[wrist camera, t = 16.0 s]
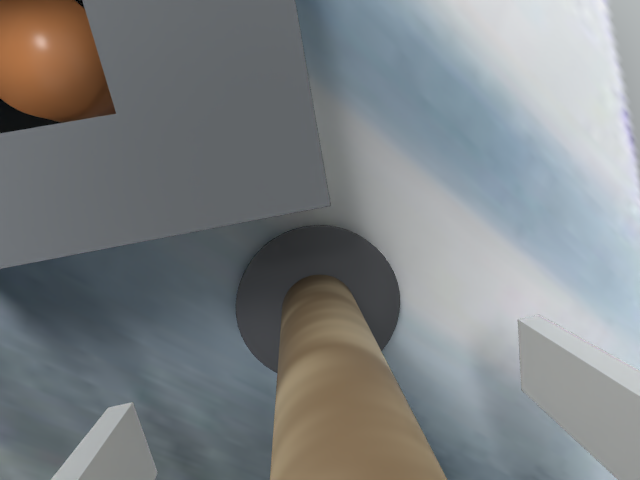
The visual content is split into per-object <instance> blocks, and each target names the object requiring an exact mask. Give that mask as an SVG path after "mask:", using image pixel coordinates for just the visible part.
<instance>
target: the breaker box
mask: <svg viewBox="0 0 640 480" xmlns="http://www.w3.org/2000/svg"><path fill="white" fill-rule="evenodd" d="M82 1H83V5H84V8H85V11H86V15H87V18H88V21H89V25H90V28H91V31H92V35H93V38H94V41H95V45H96V48H97V51H98V55H99V58H100V61H101V65H102V68H103V71H104V75H105V78H106V81H107V85H108V88H109V91H110V95H111V98H112V101H113V105H114V108H115V111H116V114H111V115H105V116H99V117H93V118H88V119H82V120H76V121H70V122H64V123H58V124H52V125H46V126H41V127H35V128H29V129H23V130H17V131H11V132H5V133H0V269H2V268H8V267H13V266H18V265H23V264H29V263H34V262H39V261H44V260H49V259H55V258H60V257H65V256H70V255H76V254H81V253H86V252H91V251H97V250H102V249H107V248H112V247H118V246H123V245H128V244H133V243H139V242H144V241H149V240H154V239H160V238H165V237H170V236H175V235H181V234H186V233H191V232H196V231H202V230H207V229H212V228H217V227H222V226H228V225H233V224H238V223H243V222H249V221H254V220H259V219H264V218H270V217H275V216H280V215H285V214H291V213H296V212H301V211H306V210H312V209H317V208H322V207H327V206H331V205H330V199H329V193H328V187H327V182H326V176H325V170H324V164H323V159H322V153H321V147H320V141H319V135H318V130H317V124H316V118H315V112H314V107H313V101H312V95H311V89H310V84H309V78H308V72H307V66H306V61H305V55H304V49H303V43H302V37H301V32H300V26H299V20H298V14H297V9H296V3H295V0H82Z"/></svg>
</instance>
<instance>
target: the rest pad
mask: <svg viewBox="0 0 640 480" xmlns="http://www.w3.org/2000/svg"><path fill="white" fill-rule="evenodd" d="M312 275H328V276H332V277H334V278H336V279H338V280H340V281H341V282H343V283H344V284H345V285H346V286H347V287H348V289H349V290H350V292H351V293H352V295H353V297H354V299H355V301H356V303H357V305H358V307H359V309H360V311H361V313H362V315H363V317H364V319H365V321H366V323H367V324H368V326H369V328H370V330H371V332H372V334H373V336H374V338H375V340H376V342H377V344H378V346H379V348H380V350H381V351H382V350H383V349H384V347H385V346H386V344H387V343H388V341H389V340H390V338H391V336H392V334H393V332H394V329H395V326H396V324H397V320H398V315H399V308H400V295H399V288H398V283H397V280H396V277H395V274H394V272H393V270H392V268H391V266H390V264H389V263H388V261H387V260H386V259H385V257H384V256H383V255H382V254H381V253H380V251H379V250H378V249H377V248H376V247H374V246H373V245H372V244H371V243H369V242H368V241H367V240H366V239H364V238H362V237H361V236H359V235H357V234H356V233H353V232H351V231H348V230H346V229H342V228H338V227H333V226H326V225H314V226H306V227H301V228H297V229H293V230H291V231H288V232H286V233H283V234H282V235H280V236H278V237H276V238H274V239H273V240H272V241H270V242H269V243H268V244H266V245H265V246H264V247H263V248H262V249H261V250H260V251H259V252H258V253H257V254H256V255H255V256H254V258H253V259H252V260H251V262H250V263H249V265H248V267H247V268H246V270H245V272H244V274H243V277H242V279H241V281H240V284H239V288H238V292H237V298H236V317H237V323H238V327H239V330H240V333H241V336H242V338H243V340H244V342H245V344H246V345H247V347H248V348H249V349H250V351H251V352H252V353H253V355H254V356H255V357H256V358H257V359H258V360H259V361H260V362H262V363H263V364H264V365H265V366H266V367H268V368H269V369H271V370H273V371H274V372H276V373H278V359H279V345H280V330H281V316H282V305H283V301H284V298H285V296H286V294H287V292H288V290H289V289H290V288H291V287H292V286H293V285H294V284H295V283H296V282H298V281H299V280H301V279H303V278H305V277H308V276H312Z"/></svg>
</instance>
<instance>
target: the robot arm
mask: <svg viewBox="0 0 640 480" xmlns="http://www.w3.org/2000/svg"><path fill="white" fill-rule="evenodd" d="M518 334H519V353H520V373H521V390H522V391H523V392H524V393H525V394H526V395H527V396H528V397H529V398H530V399H532V400H533V401H534V402H535V403H536V404H537V405H538V406H539V407H540V408H541V409H542V410H543V411H544V412H546V413H547V414H548V415H549V416H550V417H551V418H552V419H553V420H554V421H555V422H556V423H557V424H558V425H560V426H561V427H562V428H563V429H564V430H565V431H566V432H567V433H568V434H569V435H570V436H571V437H572V438H574V439H575V440H576V441H577V442H578V443H579V444H580V445H581V446H582V447H583V448H584V449H585V450H586V451H588V452H589V453H590V454H591V455H592V456H593V457H594V458H595V459H596V460H597V461H598V462H599V463H600V464H602V465H603V466H604V467H605V468H606V469H607V470H608V471H609V472H610V473H611V474H612V475H613V476H614V477H616V478H617V479H618V480H640V371H639V370H638V369H636V368H634V367H632V366H630V365H629V364H627V363H625V362H623V361H621V360H620V359H618V358H616V357H614V356H612V355H611V354H609V353H607V352H605V351H603V350H602V349H600V348H598V347H596V346H594V345H593V344H591V343H589V342H587V341H586V340H584V339H582V338H580V337H578V336H577V335H575V334H573V333H571V332H569V331H568V330H566V329H564V328H562V327H560V326H559V325H557V324H555V323H553V322H551V321H550V320H548V319H546V318H544V317H542V316H541V315H536V316H531V317H527V318H522V319H518ZM157 473H158V472H157V469H156V467H155V464H154V461H153V458H152V455H151V452H150V450H149V447H148V444H147V441H146V438H145V435H144V433H143V430H142V427H141V424H140V421H139V418H138V416H137V413H136V410H135V407H134V404H133V402H132V403H127V404H122V405H118V406H113V407H108V408H107V410H106V411H105V412H104V413H103V415H102V416H101V417H100V419H99V420H98V421H97V422H96V424H95V425H94V426H93V427H92V429H91V430H90V431H89V432H88V434H87V435H86V436H85V437H84V439H83V440H82V441H81V442H80V444H79V445H78V446H77V447H76V449H75V450H74V451H73V452H72V454H71V455H70V456H69V457H68V459H67V460H66V461H65V462H64V464H63V465H62V466H61V468H60V469H59V470H58V471H57V473H56V474H55V475H54V476H53V478H52V479H51V480H155V477H156V475H157Z"/></svg>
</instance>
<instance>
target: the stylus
mask: <svg viewBox="0 0 640 480" xmlns="http://www.w3.org/2000/svg"><path fill="white" fill-rule="evenodd" d="M270 480H447V478H446V476H445V474H444V472H443V470H442V468H441V467H440V465H439V463H438V461H437V459H436V457H435V455H434V453H433V451H432V449H431V447H430V445H429V443H428V441H427V439H426V437H425V435H424V433H423V431H422V430H421V428H420V426H419V424H418V422H417V420H416V418H415V416H414V414H413V412H412V410H411V408H410V406H409V404H408V402H407V400H406V398H405V396H404V395H403V393H402V391H401V389H400V387H399V385H398V383H397V381H396V379H395V377H394V375H393V373H392V371H391V369H390V367H389V365H388V363H387V361H386V359H385V358H384V356H383V354H382V352H381V350H380V348H379V346H378V344H377V342H376V340H375V338H374V336H373V334H372V332H371V330H370V328H369V326H368V324H367V323H366V321H365V319H364V317H363V315H362V313H361V311H360V309H359V307H358V305H357V303H356V301H355V299H354V297H353V295H352V293H351V292H350V290H349V289H348V287H347V286H346V285H345V284H344V283H343V282H341V281H340V280H338V279H336V278H334V277H332V276H328V275H312V276H308V277H305V278H303V279H301V280H299V281H298V282H296V283H295V284H294V285H293V286H292V287H291V288H290V289H289V290H288V292H287V294H286V296H285V298H284V301H283V305H282V316H281V330H280V345H279V359H278V373H277V387H276V402H275V416H274V430H273V444H272V458H271V473H270Z"/></svg>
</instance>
